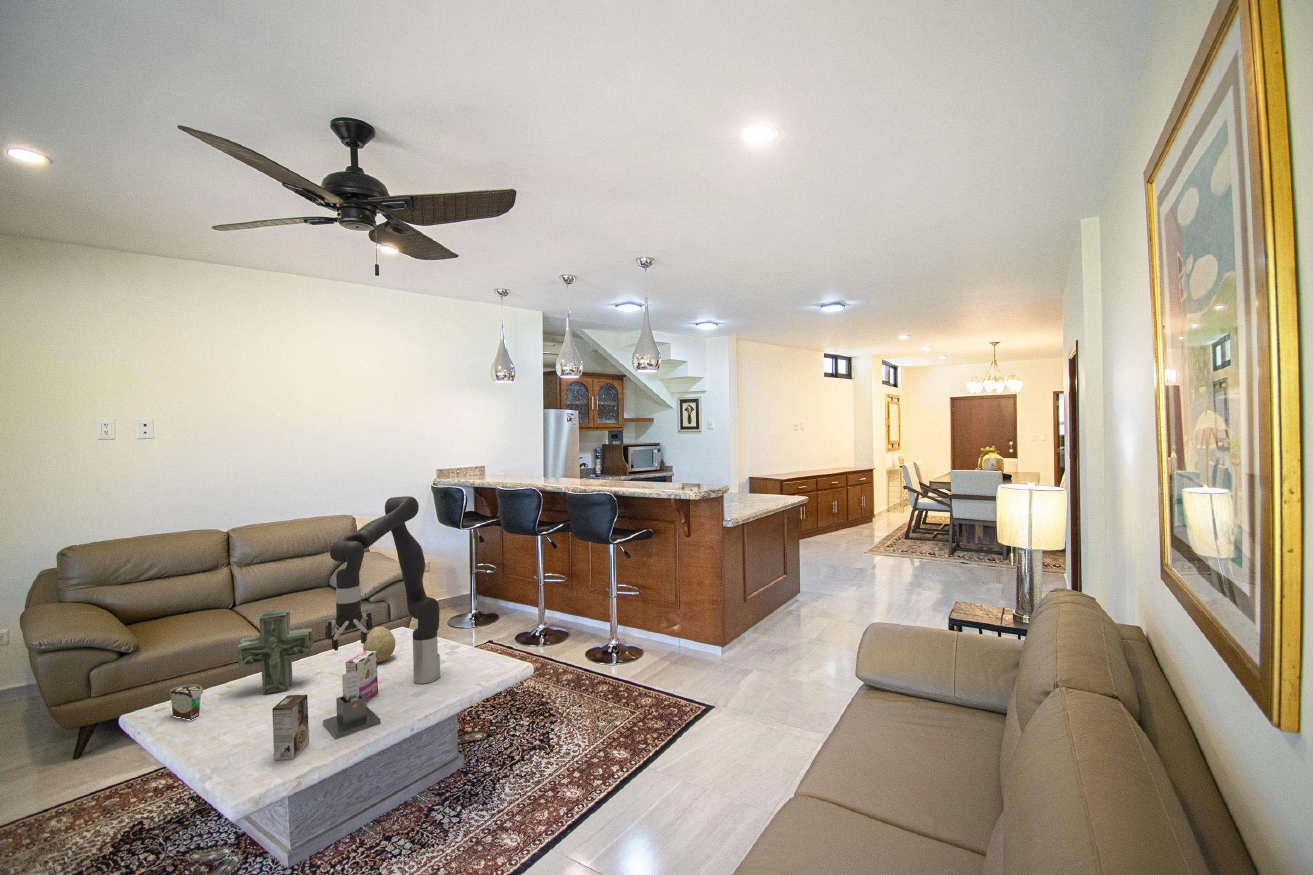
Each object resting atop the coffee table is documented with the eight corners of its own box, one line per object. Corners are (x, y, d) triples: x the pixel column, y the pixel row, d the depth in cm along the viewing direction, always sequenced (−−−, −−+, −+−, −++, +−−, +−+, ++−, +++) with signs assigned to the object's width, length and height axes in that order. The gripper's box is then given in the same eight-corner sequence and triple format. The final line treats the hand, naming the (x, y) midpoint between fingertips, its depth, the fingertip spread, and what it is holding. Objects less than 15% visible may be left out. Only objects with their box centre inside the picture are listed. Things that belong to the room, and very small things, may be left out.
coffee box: (288, 744, 187) (287, 694, 187) (309, 743, 188) (308, 693, 188) (272, 760, 178) (271, 708, 178) (294, 759, 179) (293, 706, 178)
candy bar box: (367, 692, 224) (366, 649, 224) (378, 693, 223) (377, 650, 223) (346, 705, 213) (344, 661, 213) (358, 706, 212) (356, 662, 212)
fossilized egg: (370, 656, 261) (369, 623, 261) (399, 654, 262) (398, 621, 262) (358, 667, 248) (357, 632, 248) (390, 665, 249) (389, 631, 249)
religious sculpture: (237, 701, 219) (235, 621, 219) (244, 689, 229) (242, 613, 229) (311, 688, 229) (309, 612, 228) (314, 677, 239) (312, 604, 239)
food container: (212, 713, 210) (211, 685, 210) (193, 721, 204) (192, 693, 204) (188, 708, 214) (187, 681, 214) (170, 716, 208) (169, 688, 208)
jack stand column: (356, 715, 203) (355, 670, 203) (360, 719, 200) (359, 674, 199) (343, 719, 200) (341, 674, 200) (347, 724, 197) (346, 678, 196)
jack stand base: (366, 709, 210) (365, 682, 210) (380, 723, 200) (379, 694, 200) (323, 724, 200) (322, 695, 200) (335, 739, 190) (334, 708, 190)
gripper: (366, 592, 207) (367, 638, 207) (322, 601, 197) (323, 649, 197) (374, 596, 202) (375, 643, 202) (328, 606, 192) (330, 655, 192)
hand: (349, 646), depth 200 cm, fingers open, 8 cm apart
